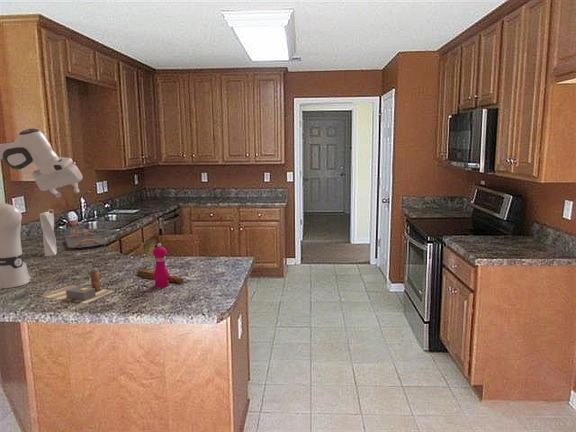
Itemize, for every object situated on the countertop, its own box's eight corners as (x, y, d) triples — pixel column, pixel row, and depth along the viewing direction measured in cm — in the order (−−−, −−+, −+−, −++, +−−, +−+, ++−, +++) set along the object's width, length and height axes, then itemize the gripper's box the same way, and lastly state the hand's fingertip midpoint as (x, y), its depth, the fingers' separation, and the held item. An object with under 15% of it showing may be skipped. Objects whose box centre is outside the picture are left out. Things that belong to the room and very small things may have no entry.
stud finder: (66, 298, 187) (65, 289, 186) (78, 293, 192) (77, 285, 192) (84, 300, 183) (83, 291, 183) (95, 296, 189) (94, 287, 188)
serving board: (64, 241, 306) (63, 232, 305) (100, 237, 318) (99, 228, 317) (68, 252, 273) (67, 243, 272) (108, 247, 285) (107, 238, 284)
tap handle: (178, 278, 206) (135, 269, 221) (179, 285, 206) (135, 275, 222) (183, 276, 208) (140, 268, 224) (183, 283, 209) (140, 274, 224)
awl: (90, 291, 195) (87, 263, 192) (96, 289, 198) (93, 261, 196) (96, 292, 193) (93, 264, 191) (102, 290, 196) (99, 262, 194)
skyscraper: (59, 253, 272) (55, 208, 268) (57, 256, 265) (52, 210, 260) (44, 254, 270) (39, 209, 265) (42, 257, 262) (36, 211, 257)
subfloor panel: (40, 299, 190) (40, 296, 190) (71, 287, 205) (70, 285, 204) (86, 306, 180) (86, 303, 180) (115, 293, 195) (114, 290, 195)
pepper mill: (156, 283, 209) (153, 241, 205) (171, 282, 208) (169, 241, 205) (151, 288, 202) (148, 245, 198) (167, 287, 201) (164, 245, 198)
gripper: (25, 175, 181) (44, 203, 188) (65, 164, 176) (84, 193, 182) (35, 168, 186) (53, 195, 193) (74, 157, 181) (91, 186, 187)
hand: (68, 194), depth 188 cm, fingers open, 8 cm apart
